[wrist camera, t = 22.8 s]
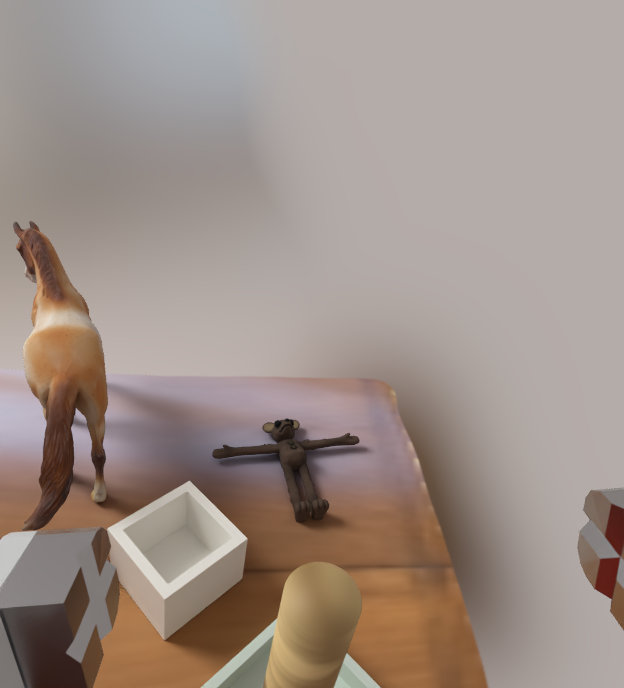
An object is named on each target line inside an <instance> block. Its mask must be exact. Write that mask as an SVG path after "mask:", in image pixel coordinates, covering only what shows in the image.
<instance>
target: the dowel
mask: <svg viewBox="0 0 624 688" xmlns="http://www.w3.org/2000/svg"><path fill="white" fill-rule="evenodd" d="M361 610H362V598H361V594H360V590H359V588H358V586H357V584H356V583H355V581H354V580H353V578H352V577H351V576H350V575H349V574H348V573H347V572H345V571H344V570H343V569H341V568H339V567H337V566H335V565H333V564H330V563H325V562H311V563H307V564H304V565H302V566H300V567H298V568H297V569H296V570H294V571H293V572H292V573H291V574H290V576H289V577H288V579H287V581H286V583H285V585H284V590H283V594H282V599H281V604H280V608H279V613H278V618H277V623H276V627H275V632H274V637H273V642H272V646H271V651H270V656H269V661H268V665H267V670H266V675H265V680H264V684H263V688H334V686H335V683H336V681H337V678H338V675H339V672H340V670H341V667H342V664H343V661H344V659H345V656H346V653H347V650H348V648H349V645H350V642H351V639H352V637H353V634H354V631H355V628H356V626H357V623H358V620H359V617H360V614H361Z"/></svg>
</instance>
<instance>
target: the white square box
mask: <svg viewBox="0 0 624 688" xmlns="http://www.w3.org/2000/svg"><path fill="white" fill-rule="evenodd" d="M107 532H108V536H109V540H110V543H111V549H110V552H109V553H110V563H111V564H112V565H113V566H114V567H116V569H117V574H118V579H119V582H120V583H121V584H122V586H123V587H124V588H125V589H126V591H127V592H128V593H129V595H130V596H131V597H132V599H133V600H134V601H135V603H136V604H137V605H138V606H139V608H140V609H141V610H142V612H143V613H144V614H145V616H146V617H147V618H148V620H149V621H150V622H151V623H152V625H153V626H154V627H155V629H156V630H157V631H158V633H159V634H160V635H161V637H162V638H163V639H164V640H166V639H167V638H168V637H169V636H171V635H172V634H173V633H175V632H176V631H177V630H178V629H180V628H181V627H182V626H183V625H185V624H186V623H187V622H188V621H190V620H191V619H192V618H193V617H195V616H196V615H197V614H199V613H200V612H201V611H202V610H204V609H205V608H206V607H207V606H209V605H210V604H211V603H212V602H214V601H215V600H216V599H217V598H219V597H220V596H221V595H222V594H224V593H225V592H226V591H228V590H229V589H230V588H231V587H233V586H234V585H235V584H236V583H238V582H239V581H240V580H241V579H242V576H243V569H244V562H245V554H246V547H247V538H246V537H245V536H244V535H243V534H242V533H241V532H240V531H239V530H238V529H237V528H236V527H235V526H234V525H233V524H232V523H231V522H230V521H229V520H228V519H227V518H226V517H225V516H224V515H223V514H222V513H221V512H220V511H219V510H218V509H217V508H216V507H215V506H214V505H213V504H212V503H211V502H210V501H209V500H208V499H207V498H206V497H205V496H204V495H203V494H202V493H201V492H200V491H199V490H198V489H197V488H196V487H195V486H194V485H193V484H192V483H191V482H190V481H188V482H186V483H185V484H183V485H181V486H180V487H178V488H176V489H174V490H173V491H171V492H169V493H168V494H166V495H164V496H162V497H161V498H159V499H157V500H156V501H154V502H152V503H150V504H149V505H147V506H145V507H144V508H142V509H140V510H138V511H137V512H135V513H133V514H132V515H130V516H128V517H126V518H125V519H123V520H121V521H120V522H118V523H116V524H114V525H113V526H111V527H109V528H108V529H107Z"/></svg>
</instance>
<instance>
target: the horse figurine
mask: <svg viewBox="0 0 624 688" xmlns="http://www.w3.org/2000/svg"><path fill="white" fill-rule="evenodd" d="M29 223H30V227H31V228H28V229H26V230H22V229H21V228H20V226H19V225H18V223H17V222H14V225H13V227H14V230H15V233H16V234H17V235H18V237H19V238H20V240H19V243H18V245H17V246H16V248H17V250H18V251H19V252H20V254H21V256H22V258H23V259H24V261H25V263H26V269H25V273H24V274H25V276H26V277H28V278H29V279H30V280H31V281H32V282H34V283H37V294H36V296H35V298H34V302H33V308H32V313H31V319H32V323H33V326H34V330H33V332H32V333H31V335H30V337H29V338H28V339H27V340H26V342H25V344H24V348H23V359H24V368H25V375H26V379H27V382H28V384H29V386H30V388H31V391H32V393H33V394H34V395H35V397H37V398H38V399H39V401H40V403H41V405H42V406H43V413H44V416H45V419H46V421H47V427H46V431H45V438H44V447H43V462H42V466H41V475H40V478H39V483H40V486H41V489H42V491H43V492H42V497H41V500H40V503H39V505H38V506H37V508H36V509H35V511H34V512H33V514H32V515H31V516H30V518H29V519H28V520H27V521H25V525H24V527H23V528H22V530H23V531H25V530H37V529H40V528H42V527H44V526H45V525H46V524H47V523H48V522H49V521H50V520H51V519H52V517H53V516H54V514H55V513H56V512H57V511H58V509H59V508H60V507H61V506H62V505H63V503H64V502H65V500H66V498H67V496H68V494H69V491H70V486H71V483H72V481H73V469H72V468H73V465H74V447H73V444H74V443H73V436H72V431H71V426H72V424H73V420H74V415H75V410H76V408H77V409H78V410H79V411H80V412H81V413H82V414H83V415H84V416H85V417H86V420H87V426H88V429H89V432H90V436H91V439H92V451H91V457H92V462H93V464H94V466H95V469H96V481H95V484H94V490H93V491H92V493H91V498H92V500H93V501H94V502H103V501H105V499H106V485H105V481H104V475H103V467H104V464H105V461H106V456H105V451H104V449H103V439H104V433H105V417H104V415H105V412H106V409H107V405H108V396H107V384H106V375H105V363H104V353H103V348H102V341H101V337H100V334H99V332H98V330H97V328H96V327H95V326H94V324H93V323H92V322H91V319H90V317H89V310H88V307H87V304H86V302H85V300H84V298H83V297H82V295H81V294H80V293H78V292H77V290H76V289H75V288H74V287H73V286H72V284H71V282H70V280H69V278H68V277H67V275H66V273H65V270H64V268H63V266H62V264H61V262H60V260H59V257H58V255H57V253H56V251H55V249H54V247H53V246H52V244H51V242H50V241H49V239H48V238H47V237H46V236H45V235H44V234H43V233H41V232H40V231H39V229H38V227H37V225H36V224H35V223H34V222H32V221H29ZM75 407H76V408H75Z"/></svg>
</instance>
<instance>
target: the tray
mask: <svg viewBox="0 0 624 688" xmlns="http://www.w3.org/2000/svg"><path fill="white" fill-rule="evenodd" d="M276 623H277V619H276V620H275V621H274V622H273V623H271V624H270V625H269V626H268V627H267V628H266V629H265V630H264V631H263V632H261V633H260V634H259V635H258V636H257V637H256V638H255V639H254V640H253V641H252V642H250V643H249V644H248V645H247V646H246V647H245V648H244V649H243V650H242V651H241V652H239V653H238V654H237V655H236V656H235V657H234V658H233V659H232V660H231V661H230V662H228V663H227V664H226V665H225V666H224V667H223V668H222V669H221V670H220V671H219V672H217V673H216V674H215V675H214V676H213V677H212V678H211V679H210V680H209V681H208V682H206V683H205V684H204V685H203V686H202V687H201V688H263V684H264V680H265V675H266V670H267V665H268V661H269V656H270V651H271V646H272V642H273V637H274V632H275V627H276ZM334 688H381V687H380V686H379V685H378V684H377V683H376V682H375V681H374V680H373V679H372V678H371V677H370V676H369V675H368V674H367V673H366V672H365V671H364V670H363V669H362V668H361V667H360V666H359V665H358V664H357V663H356V662H355V661H354V660H353V659H352V658H351V657H350V656H349V655H348V654H347V653H346V656H345V659H344V661H343V664H342V667H341V670H340V672H339V675H338V678H337V681H336V683H335V686H334Z"/></svg>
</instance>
